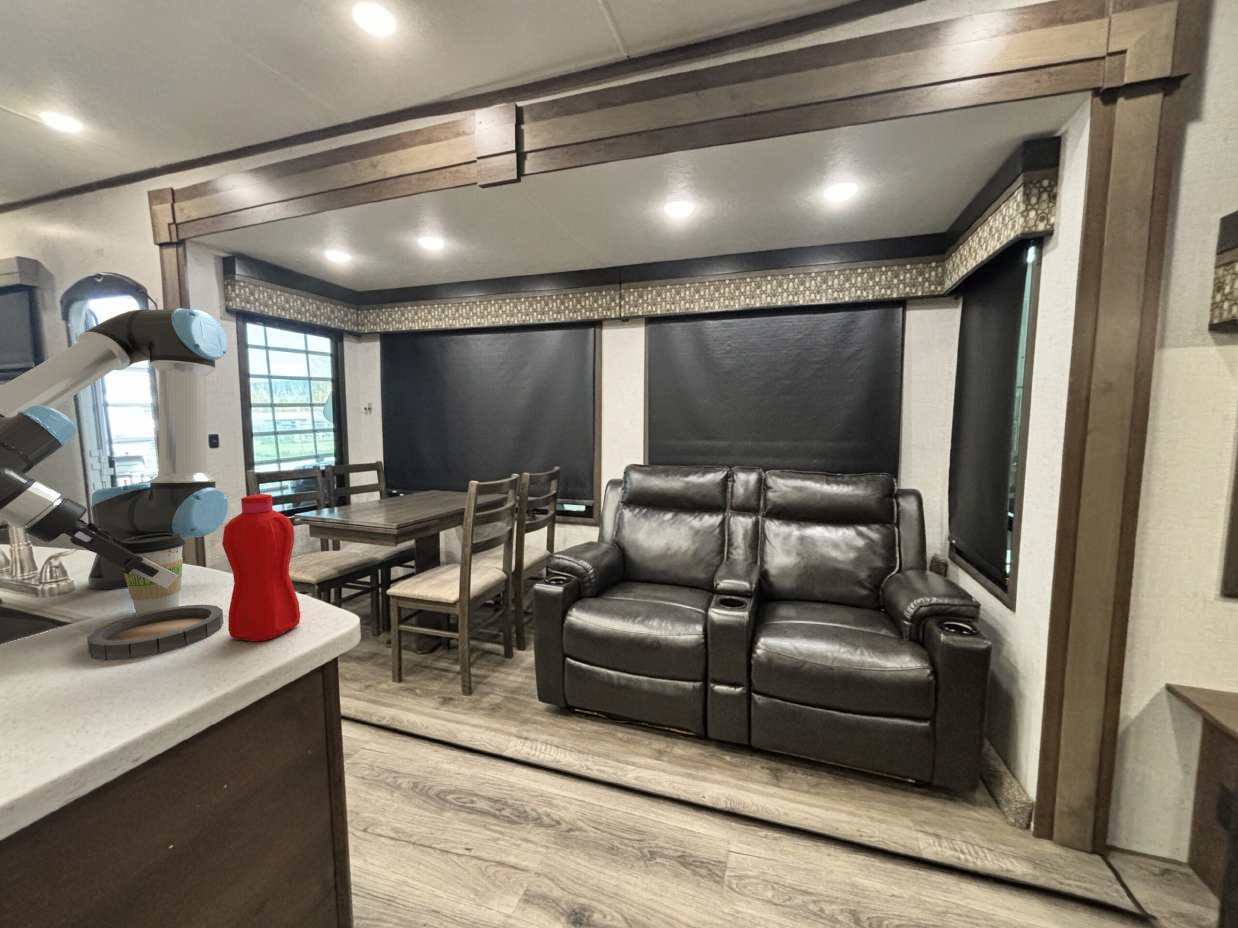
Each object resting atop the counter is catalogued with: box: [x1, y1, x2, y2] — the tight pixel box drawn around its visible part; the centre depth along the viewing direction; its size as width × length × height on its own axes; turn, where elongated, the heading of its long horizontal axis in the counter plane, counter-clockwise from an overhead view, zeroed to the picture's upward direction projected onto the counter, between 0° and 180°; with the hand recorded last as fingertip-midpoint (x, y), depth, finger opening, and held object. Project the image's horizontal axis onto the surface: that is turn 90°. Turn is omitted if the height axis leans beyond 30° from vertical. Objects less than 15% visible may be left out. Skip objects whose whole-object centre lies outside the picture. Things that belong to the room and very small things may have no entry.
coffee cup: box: [120, 533, 186, 615], centre depth 97 cm, size 10×10×15 cm
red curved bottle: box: [221, 493, 301, 642], centre depth 86 cm, size 9×11×25 cm
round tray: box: [86, 604, 224, 661], centre depth 86 cm, size 17×17×2 cm
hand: (166, 575), depth 98 cm, fingers open, 13 cm apart
